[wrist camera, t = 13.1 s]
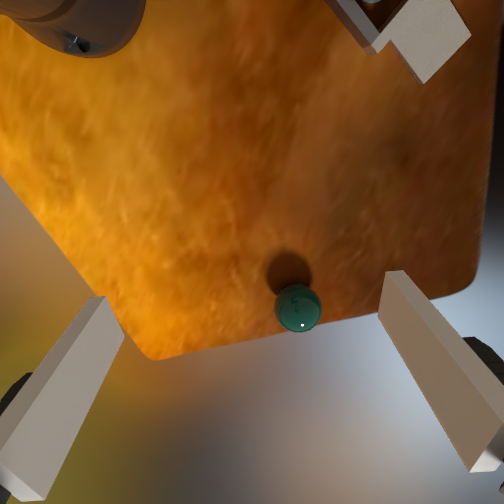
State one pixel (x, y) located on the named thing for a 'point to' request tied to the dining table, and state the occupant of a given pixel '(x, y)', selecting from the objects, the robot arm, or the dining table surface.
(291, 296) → the sphere
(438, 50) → the flanged square frame
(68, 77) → the dining table surface
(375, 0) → the grey chess piece
